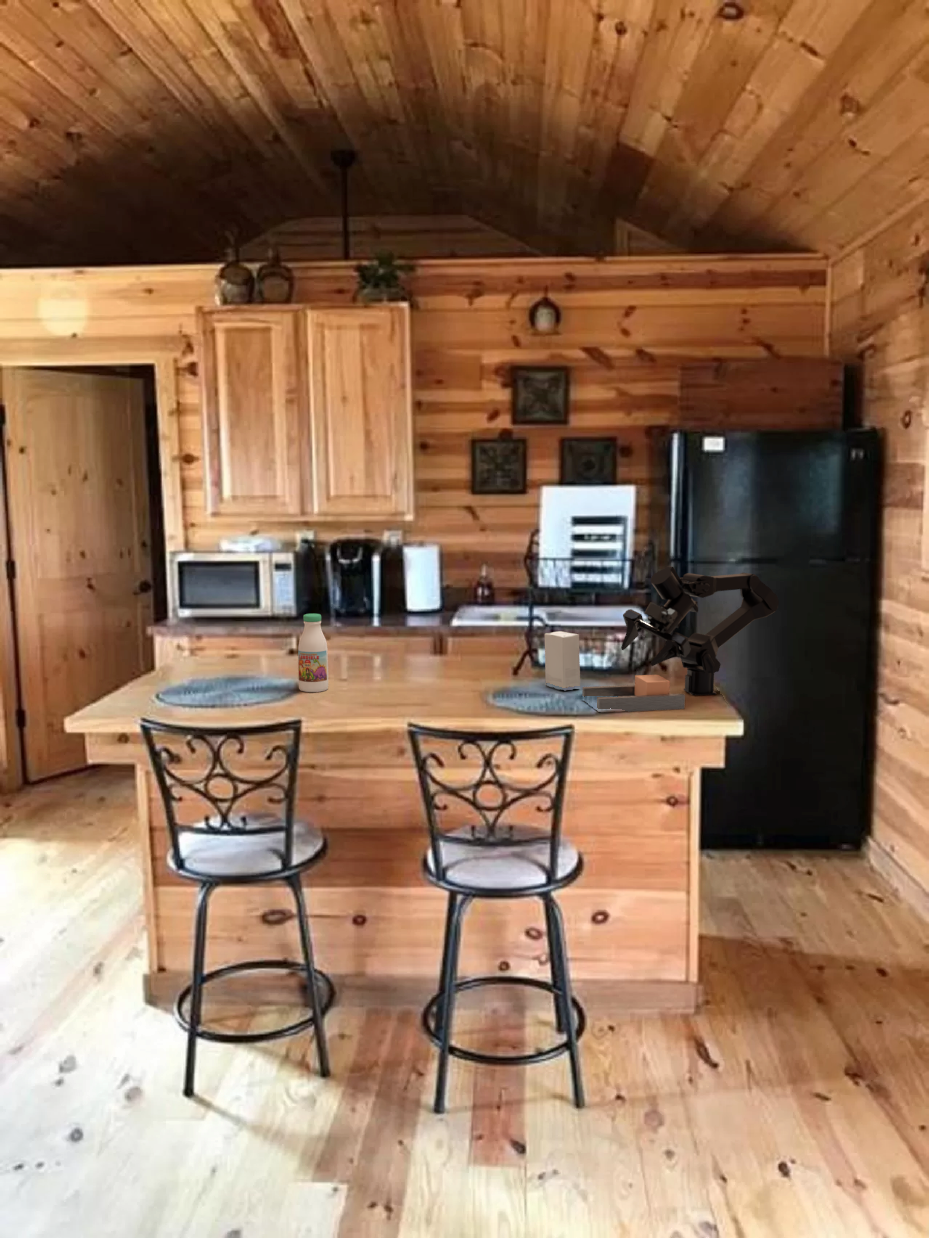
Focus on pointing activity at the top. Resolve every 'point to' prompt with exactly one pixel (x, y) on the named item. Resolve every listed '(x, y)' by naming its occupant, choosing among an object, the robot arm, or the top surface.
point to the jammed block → (651, 685)
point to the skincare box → (562, 659)
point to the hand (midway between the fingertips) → (636, 656)
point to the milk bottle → (313, 656)
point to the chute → (633, 699)
